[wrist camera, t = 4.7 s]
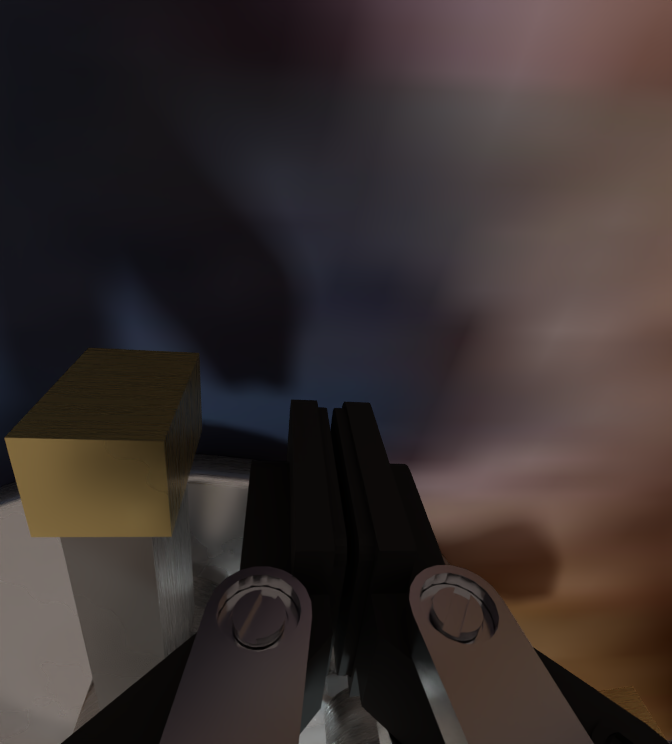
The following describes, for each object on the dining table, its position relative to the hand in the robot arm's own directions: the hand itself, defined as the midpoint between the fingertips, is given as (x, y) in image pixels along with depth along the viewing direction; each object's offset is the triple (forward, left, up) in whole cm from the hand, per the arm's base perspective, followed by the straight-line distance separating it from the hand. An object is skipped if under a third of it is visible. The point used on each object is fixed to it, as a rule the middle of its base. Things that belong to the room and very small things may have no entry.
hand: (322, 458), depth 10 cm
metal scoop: (-4, +1, 0) cm, 4 cm away
